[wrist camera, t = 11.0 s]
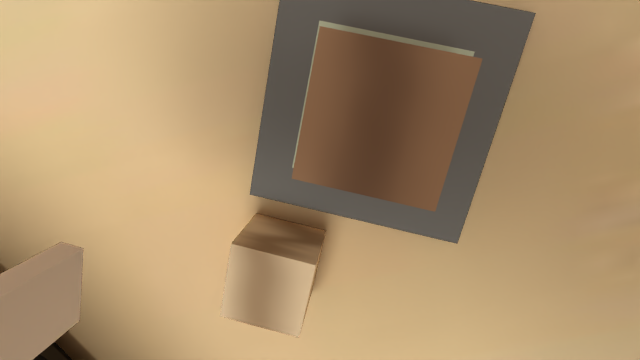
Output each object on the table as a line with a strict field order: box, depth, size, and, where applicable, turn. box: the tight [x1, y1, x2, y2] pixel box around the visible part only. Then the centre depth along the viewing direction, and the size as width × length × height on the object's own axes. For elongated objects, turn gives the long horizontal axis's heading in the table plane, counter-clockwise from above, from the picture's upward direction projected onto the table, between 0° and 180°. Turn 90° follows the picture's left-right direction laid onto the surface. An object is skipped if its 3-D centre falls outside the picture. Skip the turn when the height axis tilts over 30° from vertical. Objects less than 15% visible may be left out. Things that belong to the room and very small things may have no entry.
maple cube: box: [220, 213, 326, 338], centre depth 24 cm, size 5×5×5 cm
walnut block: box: [292, 26, 482, 212], centre depth 20 cm, size 7×7×6 cm
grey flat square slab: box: [250, 0, 536, 243], centre depth 23 cm, size 14×14×1 cm
